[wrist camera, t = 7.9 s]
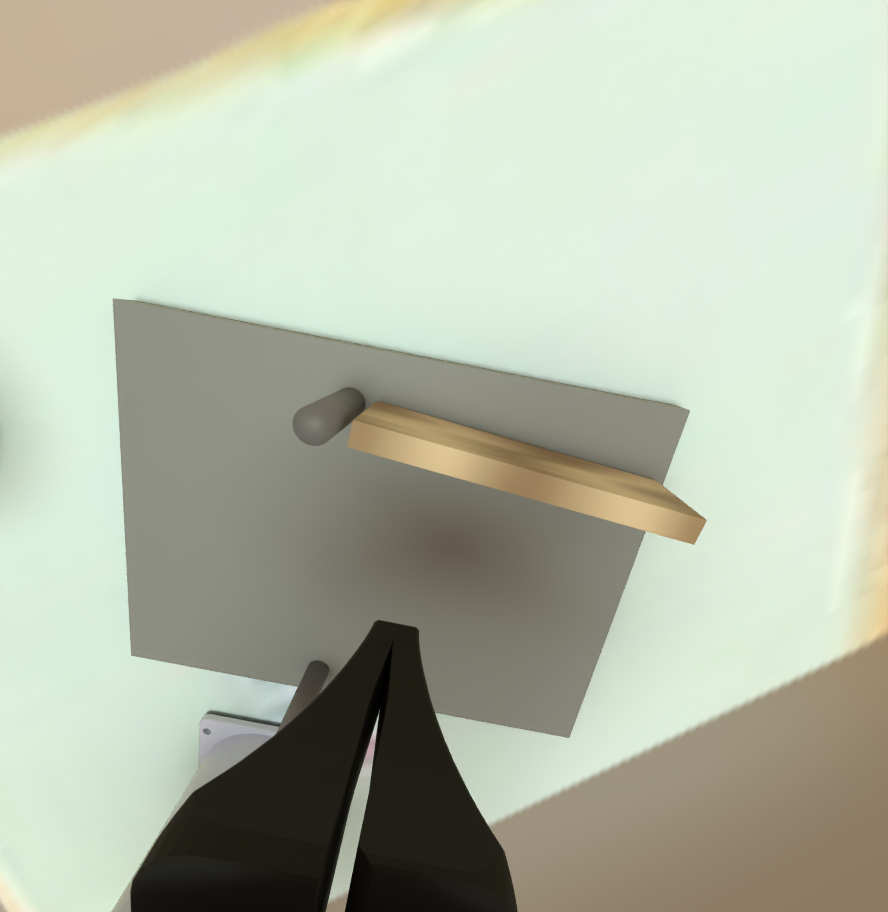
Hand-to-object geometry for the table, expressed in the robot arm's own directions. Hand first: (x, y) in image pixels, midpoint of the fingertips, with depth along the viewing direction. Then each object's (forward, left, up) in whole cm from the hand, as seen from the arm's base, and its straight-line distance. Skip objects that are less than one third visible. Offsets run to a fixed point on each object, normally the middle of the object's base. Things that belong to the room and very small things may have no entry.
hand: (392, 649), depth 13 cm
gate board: (-1, +2, -9) cm, 9 cm away
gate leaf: (+5, -3, -7) cm, 9 cm away
